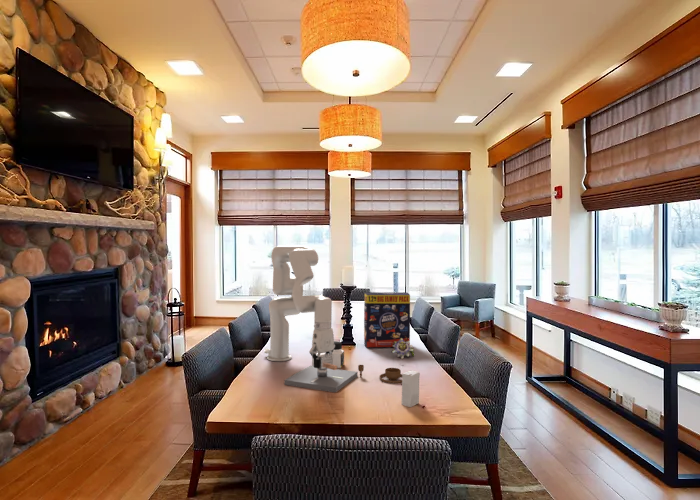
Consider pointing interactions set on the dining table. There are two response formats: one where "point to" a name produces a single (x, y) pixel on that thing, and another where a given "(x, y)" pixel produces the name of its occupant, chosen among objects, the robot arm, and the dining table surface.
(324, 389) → the base board
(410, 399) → the skincare box
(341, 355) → the medicine bottle
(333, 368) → the mallet
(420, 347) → the dining table surface
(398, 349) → the passion flower
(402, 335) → the cereal box
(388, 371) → the tea set
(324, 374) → the steel post
